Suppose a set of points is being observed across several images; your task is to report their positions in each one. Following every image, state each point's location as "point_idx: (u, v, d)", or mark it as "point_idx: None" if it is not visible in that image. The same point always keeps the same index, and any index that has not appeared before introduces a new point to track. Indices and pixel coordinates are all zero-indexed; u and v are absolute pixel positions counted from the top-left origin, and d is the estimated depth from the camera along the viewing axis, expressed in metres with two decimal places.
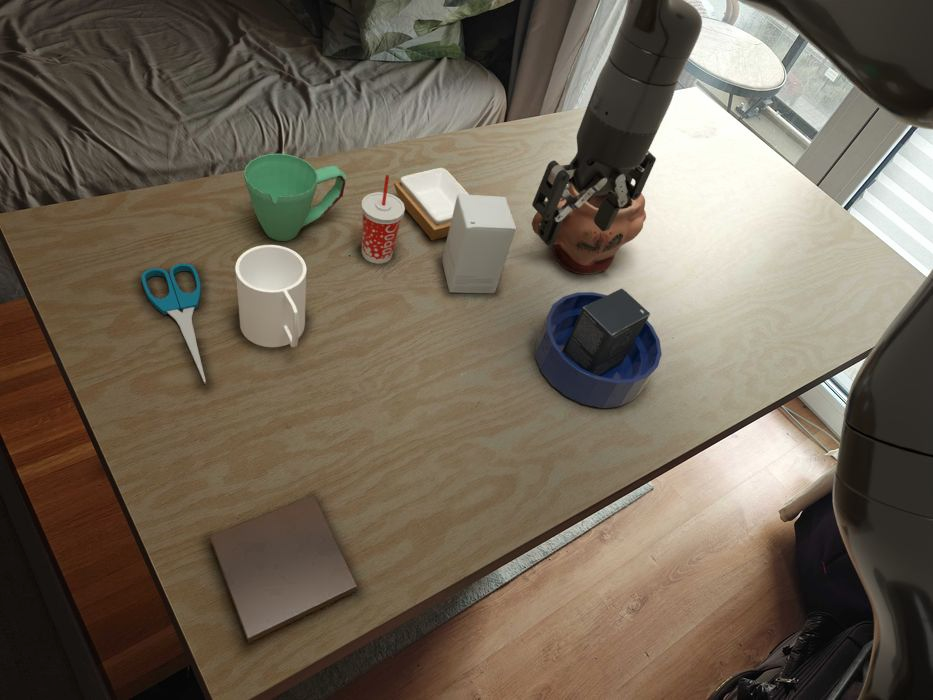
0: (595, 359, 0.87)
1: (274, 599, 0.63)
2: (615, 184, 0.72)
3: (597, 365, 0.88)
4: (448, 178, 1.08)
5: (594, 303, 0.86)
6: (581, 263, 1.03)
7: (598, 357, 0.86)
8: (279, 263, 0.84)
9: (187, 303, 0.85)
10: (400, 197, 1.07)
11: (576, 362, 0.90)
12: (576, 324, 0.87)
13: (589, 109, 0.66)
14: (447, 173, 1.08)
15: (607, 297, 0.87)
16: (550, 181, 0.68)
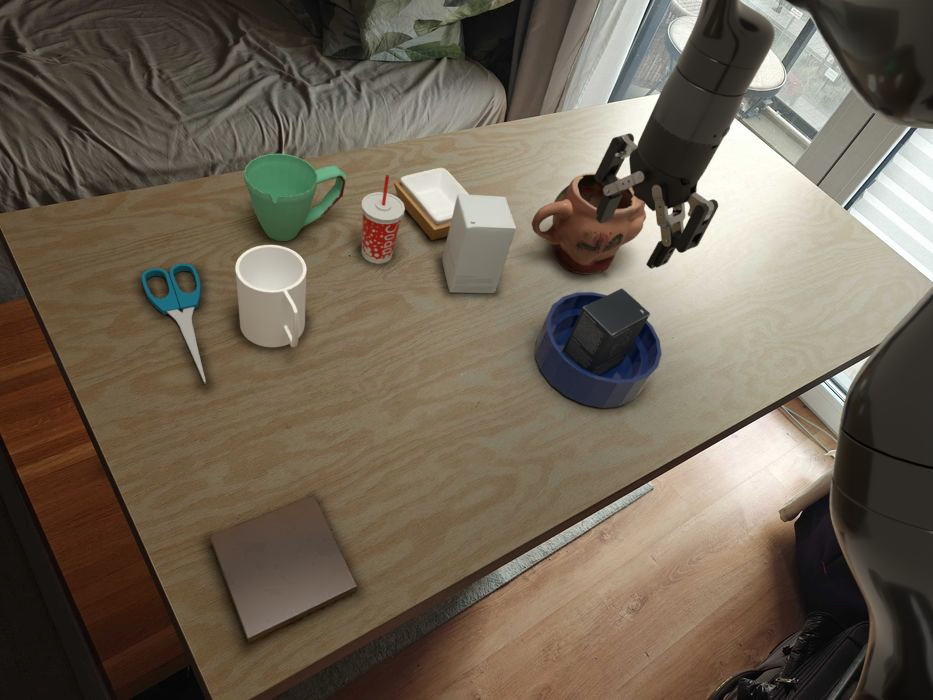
0: (595, 359, 0.87)
1: (274, 599, 0.63)
2: None
3: (597, 365, 0.88)
4: (448, 178, 1.08)
5: (594, 303, 0.86)
6: (581, 263, 1.03)
7: (598, 357, 0.86)
8: (279, 263, 0.84)
9: (187, 303, 0.85)
10: (400, 197, 1.07)
11: (576, 362, 0.90)
12: (576, 324, 0.87)
13: None
14: (447, 173, 1.08)
15: (607, 297, 0.87)
16: None
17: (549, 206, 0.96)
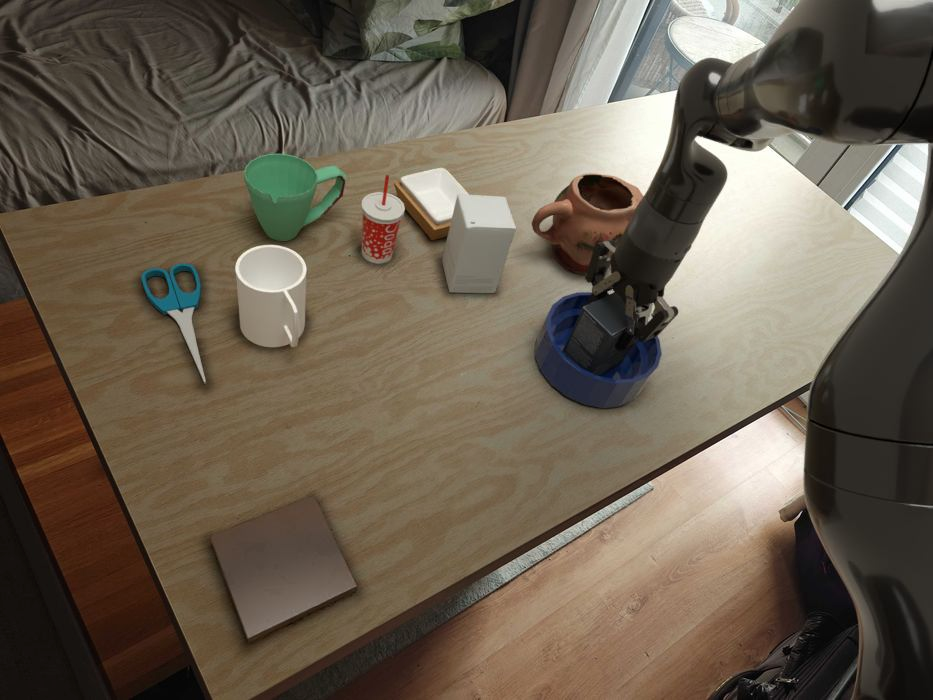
0: (595, 359, 0.87)
1: (274, 599, 0.63)
2: None
3: (597, 365, 0.88)
4: (448, 178, 1.08)
5: (594, 303, 0.86)
6: (581, 263, 1.03)
7: (598, 357, 0.86)
8: (279, 263, 0.84)
9: (187, 303, 0.85)
10: (400, 197, 1.07)
11: (576, 362, 0.90)
12: (576, 324, 0.87)
13: None
14: (447, 173, 1.08)
15: (607, 297, 0.87)
16: None
17: (549, 206, 0.96)
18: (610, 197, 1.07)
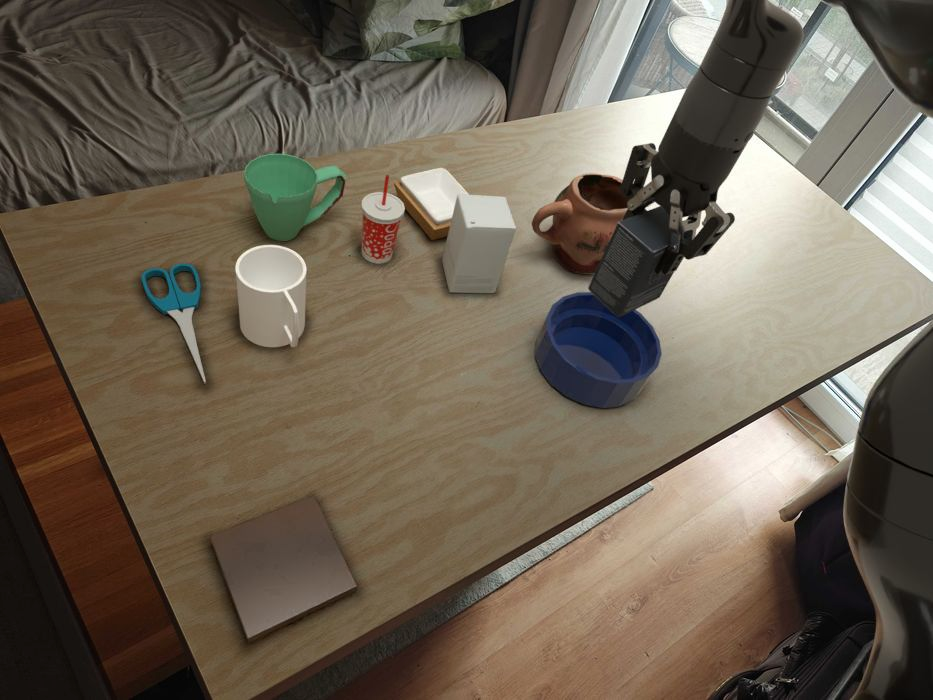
0: (632, 285, 0.74)
1: (274, 599, 0.63)
2: None
3: (633, 293, 0.75)
4: (448, 178, 1.08)
5: (631, 218, 0.73)
6: (581, 263, 1.03)
7: (635, 282, 0.74)
8: (279, 263, 0.84)
9: (187, 303, 0.85)
10: (400, 197, 1.07)
11: (608, 292, 0.77)
12: (609, 245, 0.75)
13: None
14: (447, 173, 1.08)
15: (645, 213, 0.74)
16: None
17: (549, 206, 0.96)
18: (610, 197, 1.07)
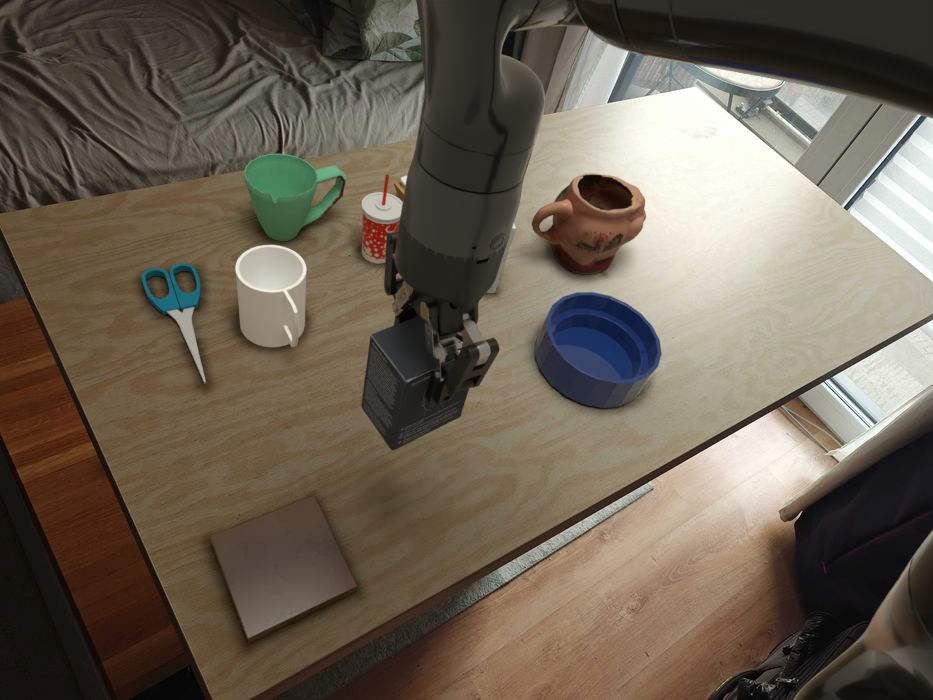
0: (395, 416, 0.55)
1: (274, 599, 0.63)
2: None
3: (401, 425, 0.56)
4: None
5: (391, 328, 0.54)
6: (581, 263, 1.03)
7: (398, 414, 0.54)
8: (279, 263, 0.84)
9: (187, 303, 0.85)
10: (400, 197, 1.07)
11: (377, 418, 0.58)
12: (368, 361, 0.55)
13: None
14: None
15: (416, 319, 0.55)
16: None
17: (549, 206, 0.96)
18: (610, 197, 1.07)
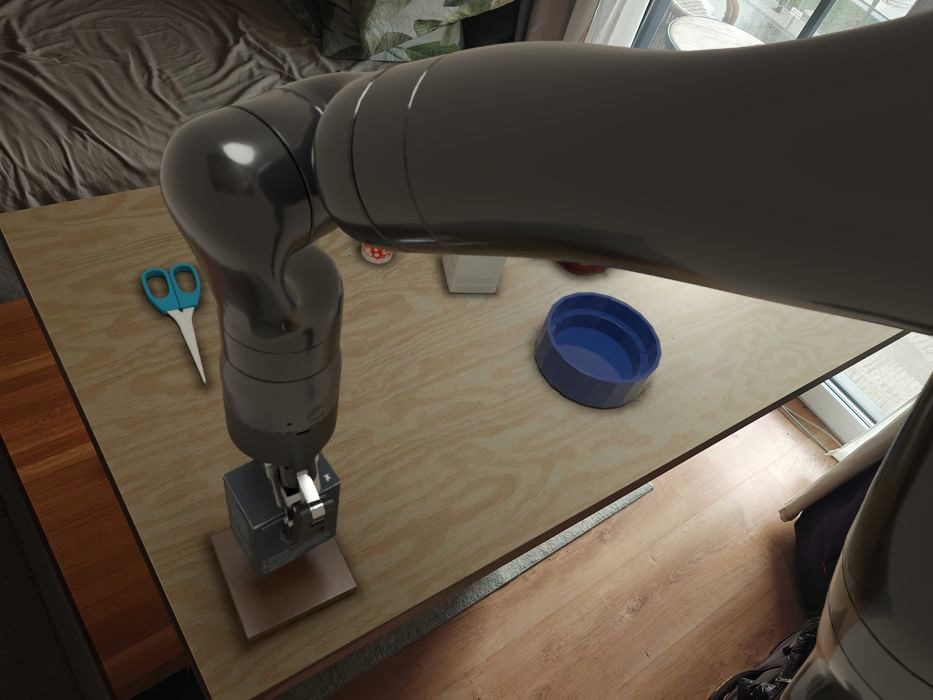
0: (253, 553, 0.54)
1: (274, 599, 0.63)
2: None
3: (261, 559, 0.55)
4: None
5: (245, 466, 0.53)
6: (581, 263, 1.03)
7: (254, 552, 0.53)
8: None
9: (187, 303, 0.85)
10: None
11: (243, 547, 0.57)
12: (226, 495, 0.54)
13: None
14: None
15: None
16: None
17: None
18: None
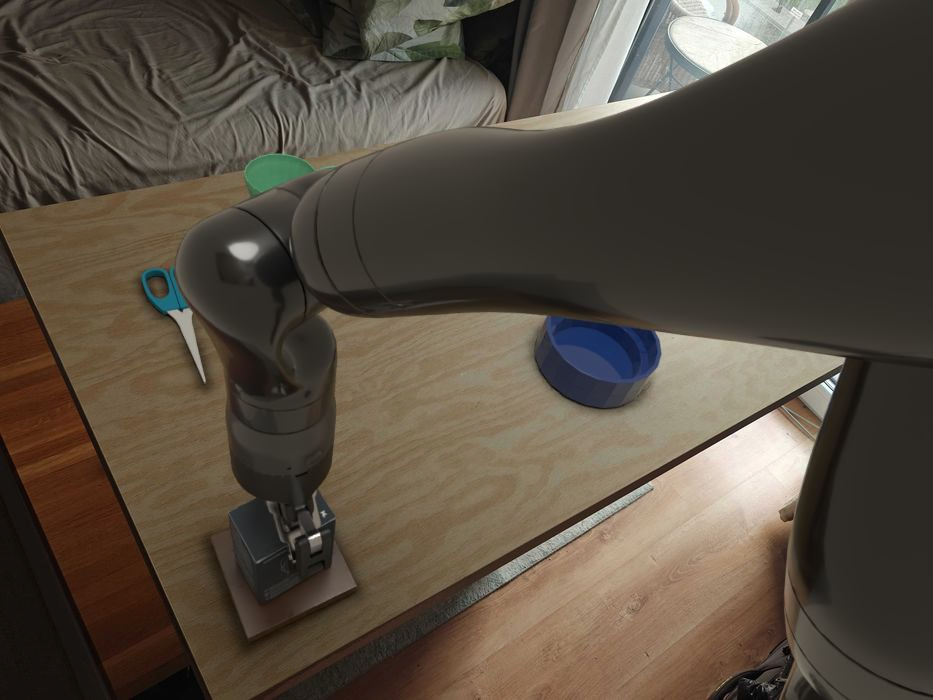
0: (256, 583, 0.59)
1: (274, 599, 0.63)
2: None
3: (263, 588, 0.60)
4: None
5: (248, 504, 0.58)
6: None
7: (257, 582, 0.58)
8: None
9: None
10: None
11: (246, 576, 0.62)
12: (231, 530, 0.59)
13: None
14: None
15: None
16: None
17: None
18: None
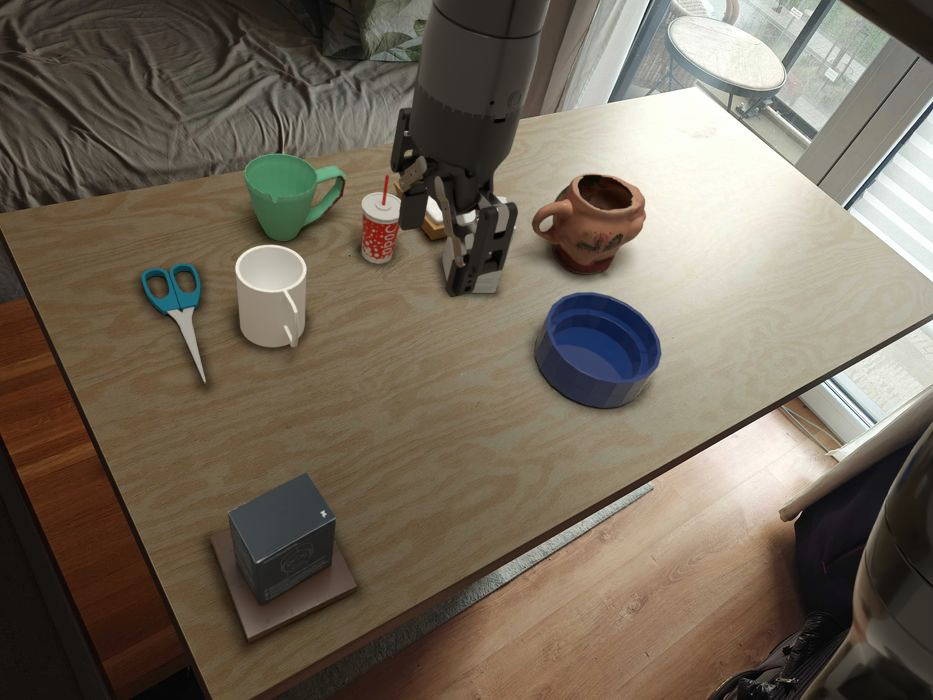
0: (256, 583, 0.59)
1: (274, 599, 0.63)
2: None
3: (263, 588, 0.60)
4: None
5: (248, 504, 0.58)
6: (581, 263, 1.03)
7: (257, 582, 0.58)
8: (279, 263, 0.84)
9: (187, 303, 0.85)
10: (400, 197, 1.07)
11: (246, 576, 0.62)
12: (231, 530, 0.59)
13: None
14: None
15: (275, 491, 0.59)
16: None
17: (549, 206, 0.96)
18: (610, 197, 1.07)
